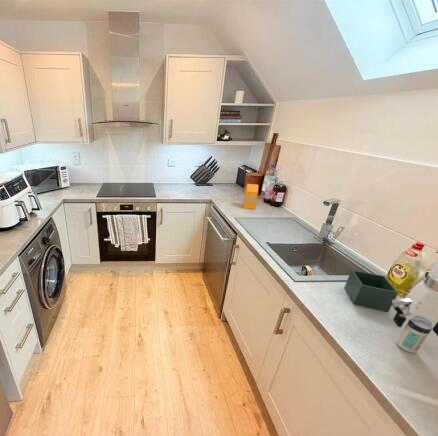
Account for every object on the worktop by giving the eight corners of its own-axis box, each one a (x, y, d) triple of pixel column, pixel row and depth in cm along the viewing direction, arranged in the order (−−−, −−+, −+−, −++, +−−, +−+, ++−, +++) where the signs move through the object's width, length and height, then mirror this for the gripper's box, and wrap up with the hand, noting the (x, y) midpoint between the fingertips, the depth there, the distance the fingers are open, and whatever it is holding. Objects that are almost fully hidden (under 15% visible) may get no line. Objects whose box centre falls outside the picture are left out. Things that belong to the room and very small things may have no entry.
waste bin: (375, 294, 102) (384, 275, 98) (388, 312, 92) (398, 292, 89) (344, 287, 106) (351, 269, 102) (353, 304, 96) (361, 285, 92)
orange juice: (242, 205, 203) (246, 182, 195) (253, 206, 201) (257, 183, 193) (243, 208, 196) (247, 185, 188) (254, 209, 194) (259, 185, 186)
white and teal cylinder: (411, 344, 80) (428, 317, 75) (419, 356, 76) (437, 329, 71) (392, 339, 81) (408, 313, 77) (399, 350, 77) (416, 323, 73)
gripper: (475, 285, 68) (444, 328, 75) (399, 271, 74) (377, 312, 81) (498, 303, 62) (462, 348, 69) (412, 286, 68) (387, 328, 75)
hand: (416, 328), depth 75 cm, fingers open, 9 cm apart
